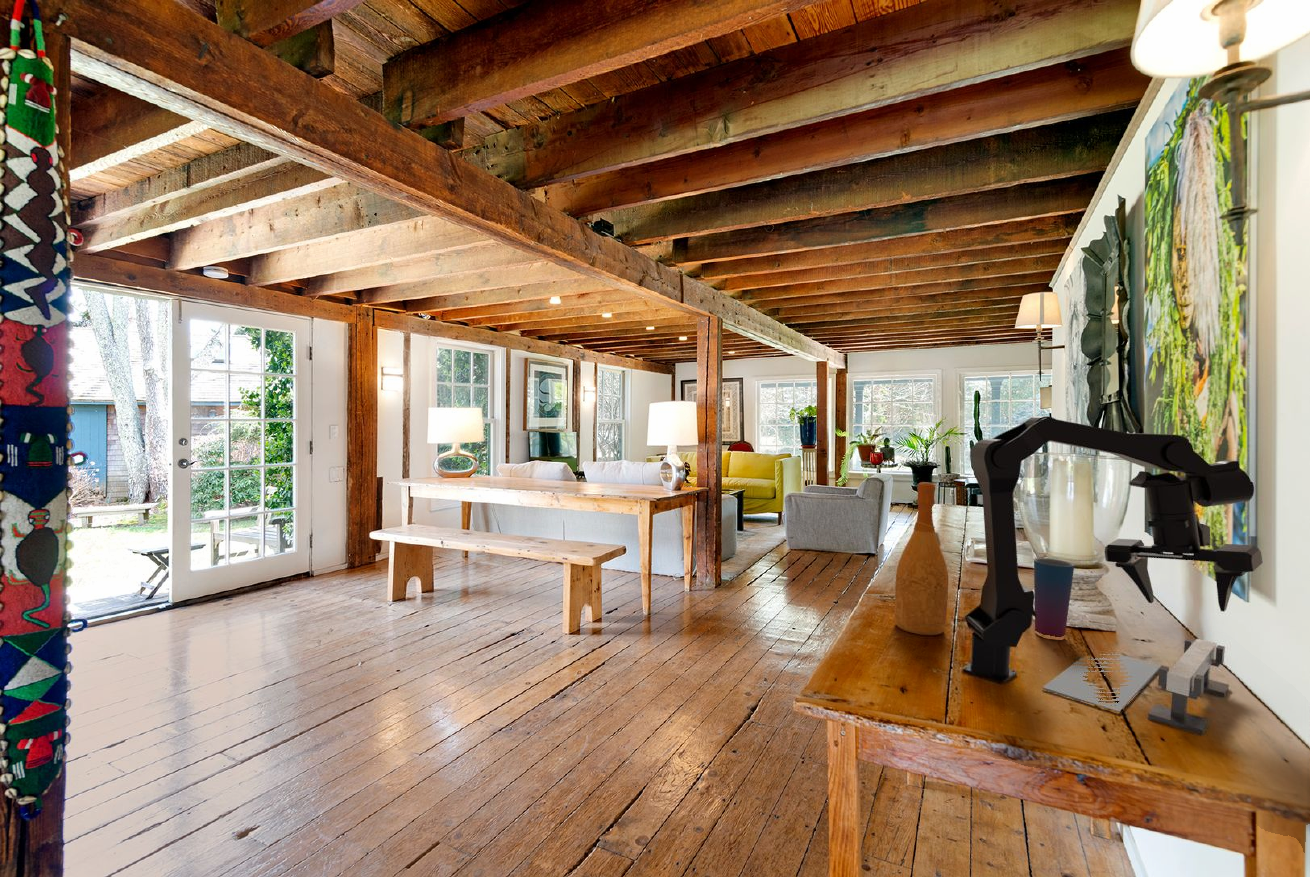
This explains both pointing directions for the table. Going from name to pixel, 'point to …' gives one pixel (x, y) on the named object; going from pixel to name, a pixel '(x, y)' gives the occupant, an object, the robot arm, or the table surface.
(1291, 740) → the table surface
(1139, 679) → the mat
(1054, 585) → the cup
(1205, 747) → the table surface
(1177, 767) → the table surface
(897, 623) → the wine bottle
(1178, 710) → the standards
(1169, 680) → the rail
